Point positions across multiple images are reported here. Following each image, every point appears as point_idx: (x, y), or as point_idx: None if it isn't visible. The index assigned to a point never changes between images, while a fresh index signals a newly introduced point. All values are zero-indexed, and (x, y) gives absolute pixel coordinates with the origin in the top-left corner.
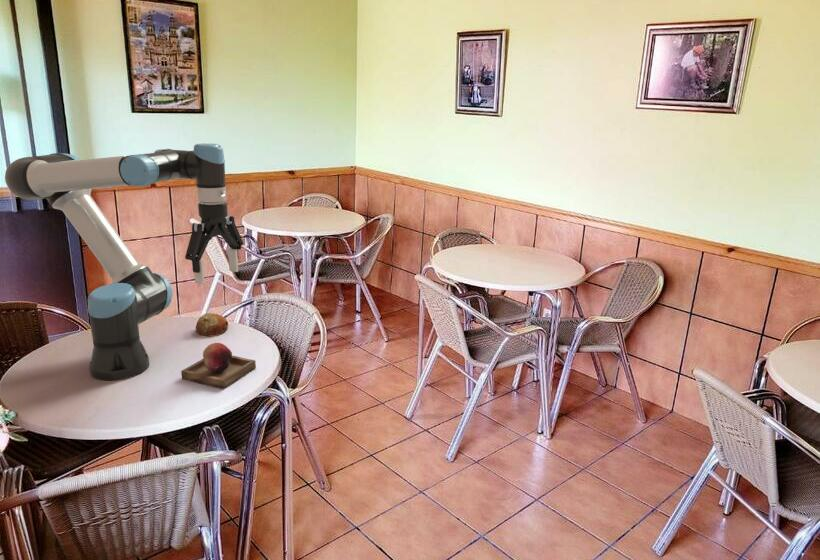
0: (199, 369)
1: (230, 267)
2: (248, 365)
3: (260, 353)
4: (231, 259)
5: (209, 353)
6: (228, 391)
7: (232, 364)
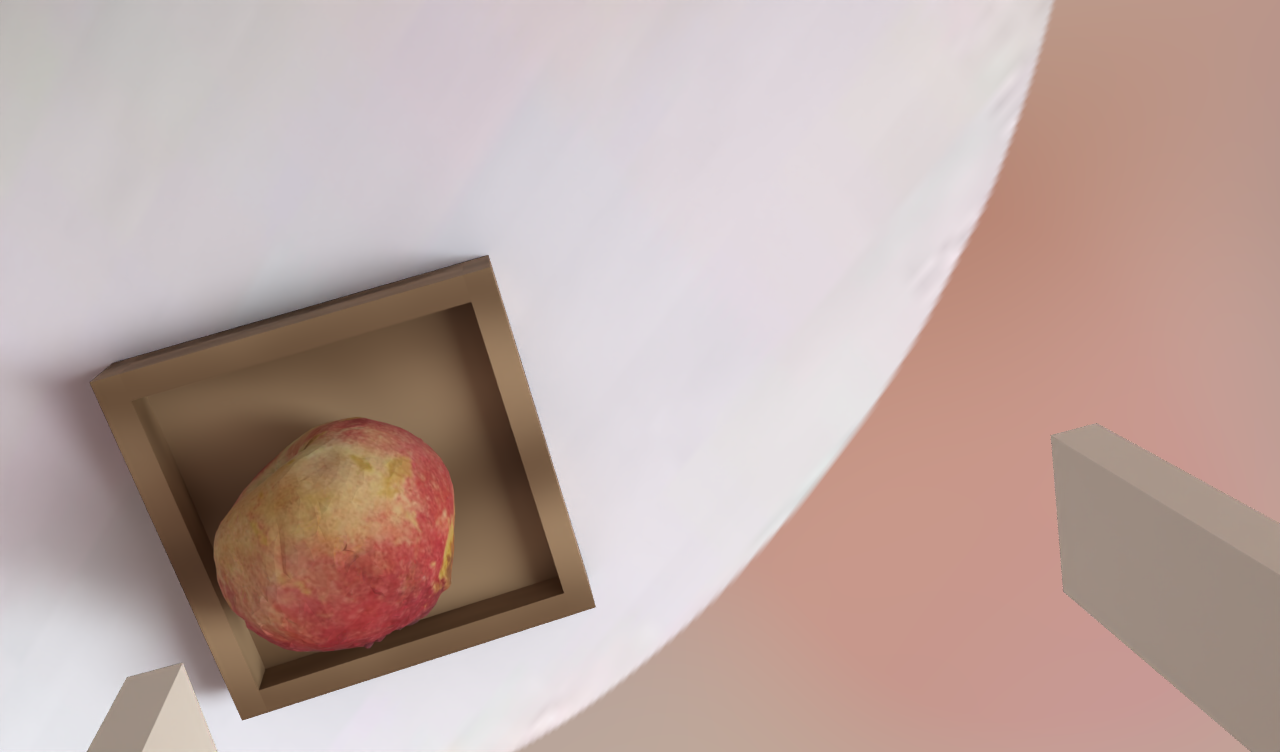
0: (265, 371)
1: (1094, 488)
2: (516, 630)
3: (773, 403)
4: (1216, 611)
5: (234, 609)
6: (261, 720)
7: (489, 470)
